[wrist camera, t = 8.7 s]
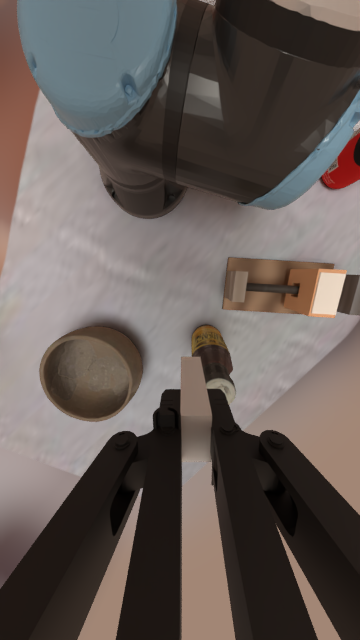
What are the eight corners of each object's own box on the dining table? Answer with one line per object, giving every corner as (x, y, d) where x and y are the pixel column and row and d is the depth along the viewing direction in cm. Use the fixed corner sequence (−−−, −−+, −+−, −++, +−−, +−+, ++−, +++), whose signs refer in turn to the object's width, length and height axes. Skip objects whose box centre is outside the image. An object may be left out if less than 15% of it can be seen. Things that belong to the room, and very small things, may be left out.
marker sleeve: (290, 269, 36) (320, 268, 28) (312, 270, 36) (348, 270, 28) (283, 307, 38) (309, 316, 30) (304, 308, 38) (336, 318, 30)
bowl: (57, 372, 45) (22, 401, 35) (85, 304, 41) (55, 314, 31) (127, 404, 46) (112, 439, 37) (160, 340, 43) (153, 361, 33)
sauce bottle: (221, 324, 41) (255, 371, 22) (218, 352, 43) (247, 418, 24) (190, 322, 41) (197, 367, 22) (188, 350, 43) (193, 415, 24)
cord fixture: (222, 308, 41) (234, 320, 31) (228, 257, 38) (243, 253, 29) (319, 314, 41) (361, 327, 31) (331, 264, 38) (380, 261, 29)
